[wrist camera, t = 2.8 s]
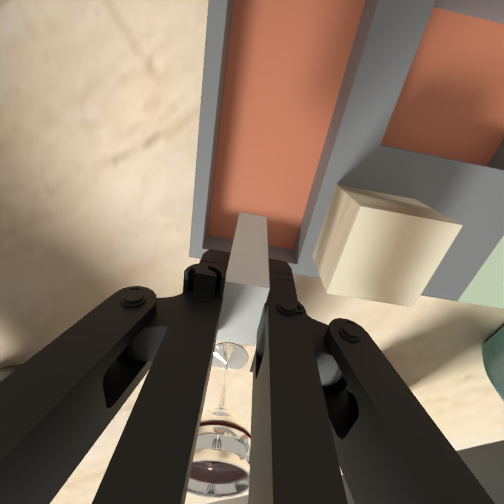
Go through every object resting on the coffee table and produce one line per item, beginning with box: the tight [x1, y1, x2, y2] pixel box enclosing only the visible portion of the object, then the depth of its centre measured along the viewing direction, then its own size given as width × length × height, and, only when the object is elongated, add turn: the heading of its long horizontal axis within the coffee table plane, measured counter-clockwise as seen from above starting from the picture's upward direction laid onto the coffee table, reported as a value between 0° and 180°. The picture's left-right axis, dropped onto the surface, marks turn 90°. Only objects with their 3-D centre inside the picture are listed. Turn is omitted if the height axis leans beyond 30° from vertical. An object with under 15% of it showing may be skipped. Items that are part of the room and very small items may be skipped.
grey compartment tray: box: [189, 0, 504, 309], centre depth 18 cm, size 30×20×5 cm, turn 80°
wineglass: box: [187, 343, 251, 498], centre depth 26 cm, size 7×7×12 cm
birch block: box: [312, 184, 463, 307], centre depth 18 cm, size 6×6×5 cm
